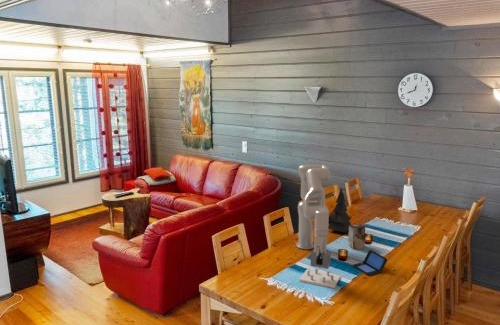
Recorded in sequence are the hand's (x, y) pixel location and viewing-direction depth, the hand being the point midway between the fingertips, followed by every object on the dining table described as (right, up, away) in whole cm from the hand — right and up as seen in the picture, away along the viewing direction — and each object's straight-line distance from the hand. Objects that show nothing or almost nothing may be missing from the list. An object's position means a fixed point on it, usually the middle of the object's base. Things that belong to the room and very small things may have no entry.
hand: (320, 262), depth 222 cm
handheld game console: (+31, -8, +14) cm, 35 cm away
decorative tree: (+28, +3, +75) cm, 80 cm away
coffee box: (+32, -2, +46) cm, 56 cm away
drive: (0, -2, 0) cm, 2 cm away
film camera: (+27, +6, +95) cm, 99 cm away
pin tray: (0, -10, +2) cm, 10 cm away
